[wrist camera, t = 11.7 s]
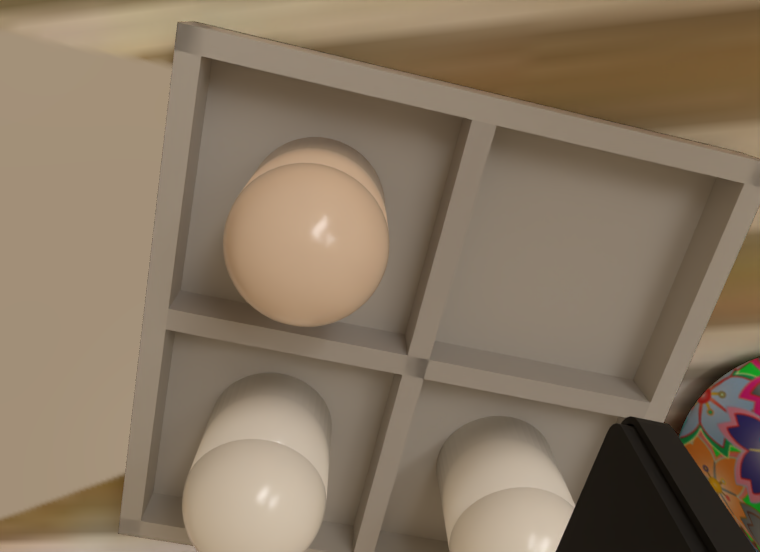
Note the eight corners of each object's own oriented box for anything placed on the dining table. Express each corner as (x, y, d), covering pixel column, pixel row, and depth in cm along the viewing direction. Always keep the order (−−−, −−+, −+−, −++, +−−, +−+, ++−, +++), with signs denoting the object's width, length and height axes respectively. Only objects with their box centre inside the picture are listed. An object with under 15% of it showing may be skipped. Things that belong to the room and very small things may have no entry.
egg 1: (260, 122, 23) (220, 163, 16) (398, 154, 23) (412, 205, 17) (238, 254, 24) (194, 337, 18) (368, 280, 25) (370, 371, 18)
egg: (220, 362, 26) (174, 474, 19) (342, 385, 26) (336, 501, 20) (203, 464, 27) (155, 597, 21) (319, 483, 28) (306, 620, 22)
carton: (194, 21, 22) (177, 21, 20) (741, 152, 24) (777, 164, 22) (135, 496, 29) (118, 533, 27) (567, 568, 31) (581, 607, 29)
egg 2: (453, 406, 27) (481, 526, 20) (567, 427, 27) (629, 551, 21) (423, 501, 28) (441, 640, 22) (531, 520, 29) (579, 661, 23)
